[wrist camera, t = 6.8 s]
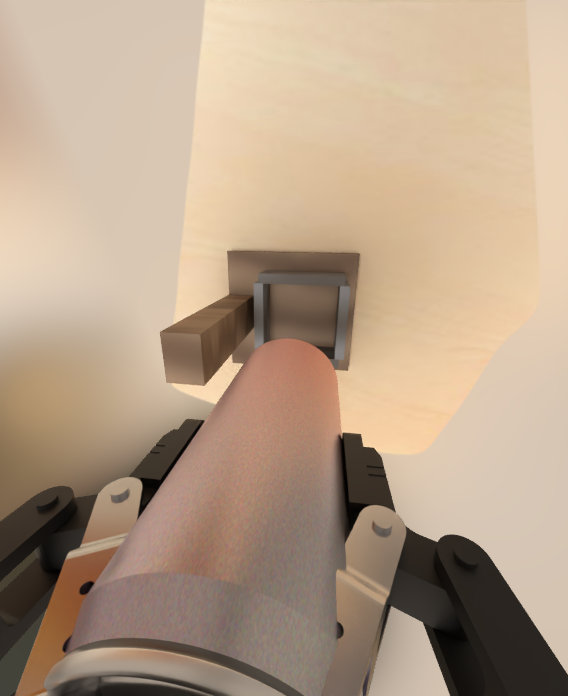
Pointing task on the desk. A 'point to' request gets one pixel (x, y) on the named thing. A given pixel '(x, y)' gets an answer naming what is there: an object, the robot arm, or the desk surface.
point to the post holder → (267, 312)
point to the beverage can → (231, 550)
